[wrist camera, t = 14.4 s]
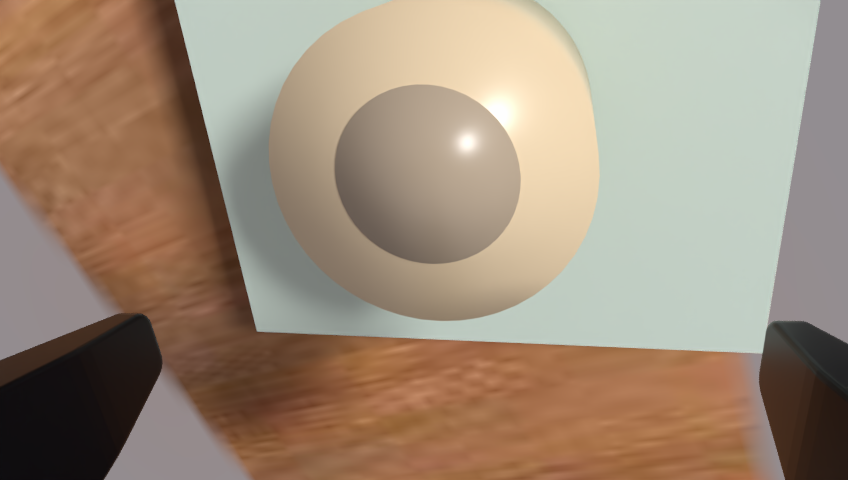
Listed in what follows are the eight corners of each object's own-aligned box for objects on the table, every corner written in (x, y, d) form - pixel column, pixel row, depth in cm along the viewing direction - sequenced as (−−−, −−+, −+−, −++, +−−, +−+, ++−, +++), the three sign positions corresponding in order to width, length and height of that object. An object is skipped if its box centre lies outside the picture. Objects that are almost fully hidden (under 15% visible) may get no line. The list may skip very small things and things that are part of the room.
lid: (755, 337, 18) (762, 353, 17) (267, 318, 22) (256, 331, 21) (852, -283, 12) (869, -297, 11) (151, -166, 16) (131, -170, 15)
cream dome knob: (589, 223, 17) (596, 327, 12) (366, 225, 18) (300, 318, 14) (593, -33, 14) (603, -18, 10) (330, -7, 16) (234, 17, 11)
